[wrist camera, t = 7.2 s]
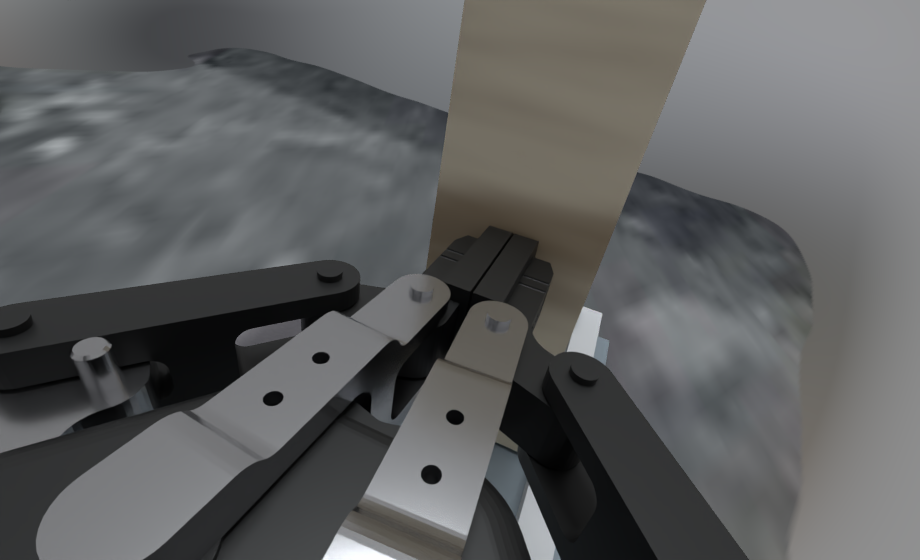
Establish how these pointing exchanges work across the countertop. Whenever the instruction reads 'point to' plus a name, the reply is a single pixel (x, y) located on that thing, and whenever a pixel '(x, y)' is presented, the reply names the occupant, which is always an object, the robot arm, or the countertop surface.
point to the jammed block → (555, 130)
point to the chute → (508, 469)
